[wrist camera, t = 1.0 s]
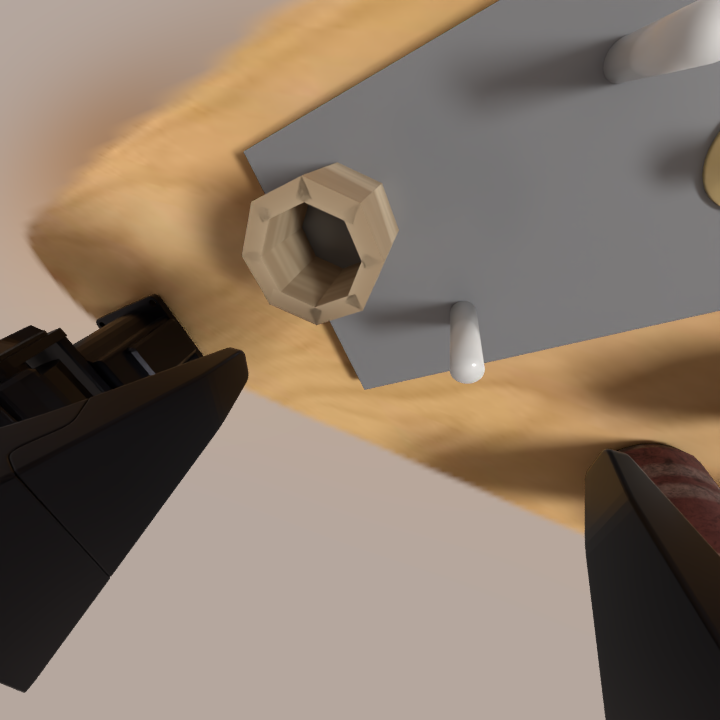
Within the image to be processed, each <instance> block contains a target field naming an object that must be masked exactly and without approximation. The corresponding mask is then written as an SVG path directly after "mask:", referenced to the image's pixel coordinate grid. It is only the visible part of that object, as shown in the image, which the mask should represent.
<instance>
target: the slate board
mask: <svg viewBox="0 0 720 720" xmlns="http://www.w3.org/2000/svg"><path fill="white" fill-rule="evenodd" d="M244 154H245V156H246V158H247V159H248V161H249V163H250V165H251V167H252V169H253V171H254V173H255V175H256V177H257V179H258V181H259V183H260V185H261V187H262V189H263V191H264V193H265V194H267V193H269V192H271V191H273V190H275V189H277V188H279V187H281V186H283V185H285V184H286V183H288V182H290V181H292V180H294V179H296V178H298V177H300V176H302V175H304V174H307V173H310V172H312V171H315V170H318V169H321V168H323V167H326V166H329V165H331V164H334V163H337V162H338V163H340V164H342V165H344V166H346V167H348V168H351V169H353V170H355V171H357V172H359V173H361V174H363V175H366V176H368V177H370V178H372V179H374V180H376V181H378V182H381V183H382V185H383V187H384V190H385V193H386V196H387V198H388V201H389V204H390V207H391V210H392V212H393V215H394V218H395V221H396V223H397V226H398V229H399V231H398V233H397V235H396V238H395V240H394V242H393V244H392V247H391V249H390V251H389V254H388V256H387V258H386V260H385V263H384V265H383V267H382V269H381V272H380V274H379V276H378V279H377V281H376V283H375V285H374V287H373V289H372V292H371V294H370V296H369V298H368V300H367V302H366V305H365V307H364V309H363V311H359V312H356V313H353V314H350V315H347V316H344V317H341V318H337V319H334V320H331V321H330V323H331V325H332V327H333V329H334V331H335V333H336V335H337V336H338V338H339V340H340V342H341V344H342V346H343V348H344V350H345V352H346V354H347V356H348V358H349V360H350V362H351V364H352V366H353V368H354V370H355V372H356V374H357V376H358V378H359V380H360V382H361V384H362V386H363V388H364V390H366V389H370V388H375V387H379V386H384V385H388V384H393V383H397V382H402V381H406V380H411V379H415V378H420V377H424V376H428V375H433V374H437V373H442V372H446V371H450V374H451V376H452V377H453V378H454V379H455V380H456V381H458V382H461V383H473V382H476V381H478V380H479V379H480V378H481V377H482V376H483V374H484V371H485V368H484V363H487V362H491V361H496V360H500V359H505V358H509V357H514V356H518V355H523V354H527V353H532V352H536V351H541V350H545V349H550V348H554V347H559V346H563V345H568V344H572V343H577V342H581V341H585V340H590V339H594V338H599V337H603V336H608V335H612V334H617V333H621V332H626V331H630V330H635V329H639V328H644V327H648V326H653V325H657V324H662V323H666V322H671V321H675V320H680V319H684V318H689V317H693V316H698V315H702V314H707V313H711V312H716V311H720V0H499V1H497V2H496V3H494V4H492V5H491V6H489V7H487V8H486V9H484V10H482V11H481V12H479V13H477V14H475V15H474V16H472V17H470V18H469V19H467V20H465V21H464V22H462V23H460V24H459V25H457V26H455V27H453V28H452V29H450V30H448V31H447V32H445V33H443V34H442V35H440V36H438V37H437V38H435V39H433V40H431V41H430V42H428V43H426V44H425V45H423V46H421V47H420V48H418V49H416V50H415V51H413V52H411V53H409V54H408V55H406V56H404V57H403V58H401V59H399V60H398V61H396V62H394V63H393V64H391V65H389V66H387V67H386V68H384V69H382V70H381V71H379V72H377V73H376V74H374V75H372V76H371V77H369V78H367V79H365V80H364V81H362V82H360V83H359V84H357V85H355V86H354V87H352V88H350V89H349V90H347V91H345V92H343V93H342V94H340V95H338V96H337V97H335V98H333V99H332V100H330V101H328V102H327V103H325V104H323V105H321V106H320V107H318V108H316V109H315V110H313V111H311V112H310V113H308V114H306V115H305V116H303V117H301V118H299V119H298V120H296V121H294V122H293V123H291V124H289V125H288V126H286V127H284V128H283V129H281V130H279V131H277V132H276V133H274V134H272V135H271V136H269V137H267V138H266V139H264V140H262V141H261V142H259V143H257V144H255V145H254V146H252V147H250V148H249V149H247V150H245V151H244ZM302 228H303V230H304V232H305V234H306V237H307V239H308V241H309V243H310V245H311V247H312V249H313V251H314V253H315V255H316V256H317V257H319V258H321V259H323V260H326V261H328V262H330V263H332V264H334V265H337V266H339V267H341V268H346V267H348V266H351V265H354V264H356V263H359V262H362V261H361V258H360V256H359V254H358V251H357V249H356V247H355V244H354V242H353V240H352V237H351V235H350V233H349V230H348V228H347V226H346V223H345V221H344V220H342V219H340V218H338V217H335V216H333V215H331V214H329V213H327V212H325V211H322V210H320V209H318V208H316V207H314V206H312V205H309V204H308V207H307V211H306V215H305V218H304V222H303V226H302Z"/></svg>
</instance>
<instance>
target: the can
mask: <svg viewBox="0 0 720 720" xmlns="http://www.w3.org/2000/svg"><path fill="white" fill-rule="evenodd" d="M619 452H623V453H626V454H628V455H629V456H630V457H631V458H632V459H633V460H634V461H635V462H636V464H637V465H638V466H639V467H640V468H641V469H642V470H643V471H644V472H645V474H646V475H647V476H648V477H649V478H650V479H651V480H652V481H653V482H654V483H655V485H656V486H657V487H658V488H659V489H660V490H661V491H662V492H663V493H664V495H665V496H666V497H667V498H668V499H669V500H670V501H671V502H672V503H673V505H674V506H675V507H676V508H677V509H678V510H679V511H680V512H681V513H682V514H683V516H684V517H685V518H686V519H687V520H688V521H689V522H690V523H691V524H692V526H693V527H694V528H695V529H696V530H697V531H698V532H699V533H700V534H701V535H702V537H703V538H704V539H705V540H706V541H707V542H708V543H709V544H710V545H711V547H712V548H713V549H714V550H715V551H716V552H717V553H718V554H719V555H720V488H719V487H718V485H717V484H716V483H715V481H714V480H713V479H712V477H711V476H710V475H709V473H708V472H707V471H706V469H705V468H704V466H703V465H702V464H701V463H700V462H699V461H698V460H697V459H696V458H695V457H694V456H693V455H690V454H688V453H686V452H683V451H681V450H679V449H676V448H674V447H671V446H666V445H660V444H640V445H636V446H631V447H627V448H624V449H621V450H619Z"/></svg>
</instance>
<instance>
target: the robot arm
mask: <svg viewBox="0 0 720 720" xmlns="http://www.w3.org/2000/svg"><path fill="white" fill-rule="evenodd" d="M154 302H155V303H156V304H155V303H154ZM96 323H97V325H98V327H99V328H100V329H99V330H97V331H95V332H94V333H92V334H90V335H89V336H87V337H85V338H84V339H82V340H80V341H78V342H77V343H75V344H73V345H72V343H71V342H70V341H69V340H68V339H67V338H66V336H67V335H66V334H65V333H64V331H63V330H62V329H61V328H58V329H56V330H54V331H51V332H49V333H47V332H46V331H45V330H41V329H38V328H36V327H34V326H32V325H30V326H28V327H26V328H23V329H22V330H19V331H17V332H15V333H13V334H11V335H9V336H7V337H5V338H3V339H1V340H0V683H1V684H4V685H6V686H9V687H11V688H13V689H16V690H18V691H21V692H23V693H25V692H26V691H27V690H28V689H29V688H30V686H31V685H32V684H33V683H34V681H35V680H36V679H37V677H38V676H39V675H40V673H41V672H42V671H43V669H44V668H45V666H46V665H47V664H48V662H49V661H50V659H51V658H52V657H53V655H54V654H55V653H56V651H57V650H58V649H59V647H60V646H61V645H62V643H63V642H64V641H65V639H66V638H67V636H68V635H69V634H70V632H71V631H72V629H73V628H74V627H75V625H76V624H77V623H78V621H79V620H80V619H81V617H82V616H83V615H84V613H85V612H86V610H87V609H88V608H89V606H90V605H91V604H92V602H93V601H94V600H95V598H96V597H97V595H98V594H99V593H100V591H101V590H102V588H103V587H104V586H105V585H106V583H107V582H108V580H109V579H110V576H112V575H113V573H114V572H115V570H116V569H117V568H118V566H119V565H120V563H121V562H122V561H123V560H124V558H125V557H126V555H127V554H128V553H129V551H130V550H131V549H132V547H133V546H134V544H135V543H136V542H137V540H138V539H139V538H140V536H141V535H142V534H143V532H144V531H145V529H146V528H147V527H148V525H149V524H150V523H151V521H152V520H153V518H154V517H155V516H156V514H157V513H158V512H159V510H160V509H161V507H162V506H163V505H164V503H165V502H166V501H167V499H168V498H169V497H170V495H171V494H172V492H173V491H174V490H175V488H176V487H177V486H178V484H179V483H180V481H181V480H182V479H183V477H184V476H185V475H186V473H187V472H188V471H189V469H190V468H191V466H192V465H193V464H194V462H195V461H196V460H197V458H198V457H199V455H200V454H201V453H202V451H203V450H204V449H205V447H206V446H207V445H208V443H209V442H210V440H211V439H212V438H213V436H214V435H215V433H216V432H217V431H218V429H219V428H220V426H221V425H222V423H223V422H224V420H225V418H226V417H227V415H228V413H229V412H230V410H231V408H232V406H233V405H234V403H235V401H236V400H237V398H238V396H239V394H240V393H241V391H242V389H243V387H244V386H245V384H246V382H247V380H248V368H247V362H246V357H245V353H244V352H243V351H242V350H238V349H235V348H226V349H223V350H220V351H217V352H215V353H212V354H209V355H206V356H204V357H203V355H202V354H201V352H200V351H199V350H198V348H197V347H196V346H195V344H194V343H193V341H192V340H191V339H190V337H189V336H188V335H187V333H186V332H185V330H184V329H183V328H182V326H181V325H180V324H179V322H178V321H177V319H176V318H175V317H174V315H173V314H172V313H171V311H170V310H169V308H168V307H167V306H166V304H165V303H164V302H163V300H162V299H161V298H160V297H159V296H158V295H155V294H152V295H150V296H147V297H145V298H143V299H141V300H139V301H136V302H134V303H132V304H130V305H127V306H125V307H123V308H121V309H119V310H116V311H114V312H112V313H110V314H107V315H105V316H103V317H101V318H99V319H98V320H97V321H96ZM585 549H586V559H587V568H588V576H589V585H590V593H591V602H592V610H593V618H594V627H595V635H596V643H597V651H598V660H599V668H600V677H601V685H602V693H603V701H604V710H605V718H606V720H720V555H719V554H718V553H717V552H716V551H715V550H714V549H713V548H712V547H711V545H710V544H709V543H708V542H707V541H706V540H705V539H704V538H703V537H702V535H701V534H700V533H699V532H698V531H697V530H696V529H695V528H694V527H693V526H692V524H691V523H690V522H689V521H688V520H687V519H686V518H685V517H684V516H683V514H682V513H681V512H680V511H679V510H678V509H677V508H676V507H675V506H674V505H673V503H672V502H671V501H670V500H669V499H668V498H667V497H666V496H665V495H664V493H663V492H662V491H661V490H660V489H659V488H658V487H657V486H656V485H655V483H654V482H653V481H652V480H651V479H650V478H649V477H648V476H647V475H646V474H645V472H644V471H643V470H642V469H641V468H640V467H639V466H638V465H637V464H636V462H635V461H634V460H633V459H632V458H631V457H630V456H629V455H628V454H626V453H623V452H619V451H615V450H612V449H605V450H603V451H602V452H601V453H600V454H599V456H598V457H597V458H596V460H595V461H594V462H593V464H592V465H591V467H590V468H589V469H588V471H587V473H586V477H585Z"/></svg>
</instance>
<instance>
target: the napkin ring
mask: <svg viewBox="0 0 720 720" xmlns="http://www.w3.org/2000/svg"><path fill="white" fill-rule="evenodd" d="M308 204H309V205H312V206H314V207H316V208H318V209H320V210H322V211H325V212H327V213H329V214H331V215H333V216H335V217H338V218H340V219H342V220H344V221H345V223H346V226H347V228H348V230H349V233H350V235H351V237H352V240H353V242H354V244H355V247H356V249H357V251H358V254H359V256H360V258H361V261H362V262H359V263H356V264H354V265H351V266H348V267H346V268H341V267H339V266H337V265H334V264H332V263H330V262H328V261H326V260H323V259H321V258H319V257H317V256H316V255H315V253H314V251H313V249H312V247H311V245H310V243H309V241H308V239H307V237H306V234H305V232H304V230H303V228H302V226H303V222H304V218H305V215H306V211H307V207H308ZM398 231H399V229H398V226H397V223H396V221H395V218H394V215H393V212H392V210H391V207H390V204H389V201H388V198H387V196H386V193H385V190H384V187H383V185H382V183H381V182H378V181H376V180H374V179H372V178H370V177H368V176H366V175H363V174H361V173H359V172H357V171H355V170H353V169H351V168H348V167H346V166H344V165H342V164H340V163H338V162H337V163H334V164H331V165H329V166H326V167H323V168H321V169H318V170H315V171H312V172H310V173H307V174H304V175H302V176H300V177H298V178H296V179H294V180H292V181H290V182H288V183H286V184H285V185H283V186H281V187H279V188H277V189H275V190H273V191H271V192H269V193H267V194H265V195H263V196H261V197H259V198H257V199H255V200H253V201H251V206H250V212H249V218H248V223H247V229H246V235H245V240H244V246H243V252H242V257H243V259H244V261H245V263H246V264H247V266H248V268H249V269H250V271H251V273H252V275H253V276H254V278H255V280H256V281H257V283H258V285H259V287H260V288H261V290H262V292H263V294H264V295H265V297H266V299H267V300H268V302H269V304H271V305H273V306H275V307H277V308H280V309H282V310H284V311H286V312H289V313H291V314H293V315H295V316H298V317H300V318H302V319H304V320H307V321H309V322H311V323H313V324H315V325H319V324H322V323H325V322H328V321H331V320H334V319H337V318H341V317H344V316H347V315H350V314H353V313H356V312H359V311H363V309H364V307H365V305H366V302H367V300H368V298H369V296H370V294H371V292H372V289H373V287H374V285H375V283H376V281H377V279H378V276H379V274H380V272H381V269H382V267H383V265H384V263H385V260H386V258H387V256H388V254H389V251H390V249H391V247H392V244H393V242H394V240H395V238H396V235H397V233H398Z"/></svg>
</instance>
